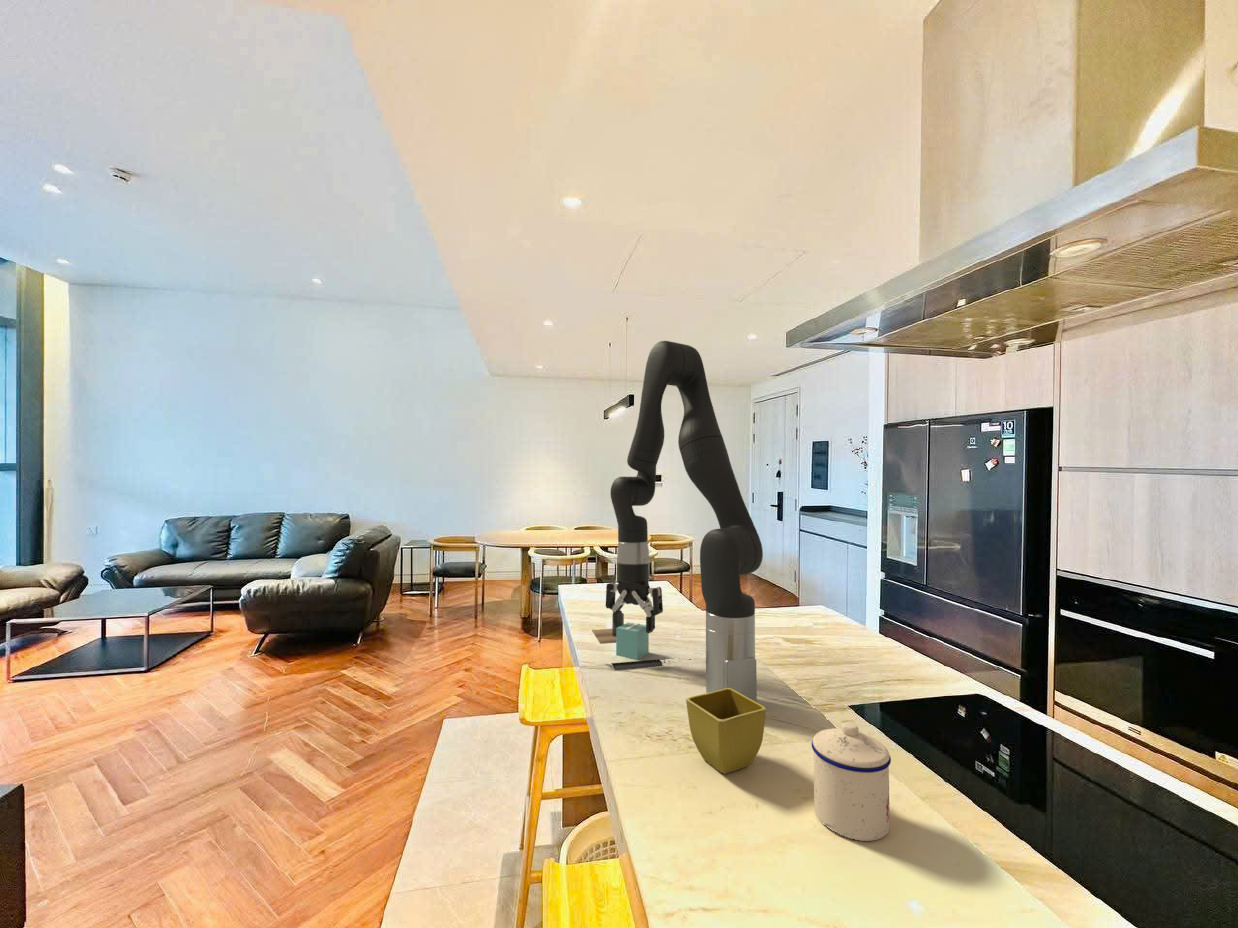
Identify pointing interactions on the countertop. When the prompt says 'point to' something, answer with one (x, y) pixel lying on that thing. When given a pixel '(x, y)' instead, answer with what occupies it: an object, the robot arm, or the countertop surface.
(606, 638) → the post base
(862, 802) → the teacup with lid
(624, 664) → the mat
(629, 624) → the striped teal box
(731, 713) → the flower pot
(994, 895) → the countertop surface
